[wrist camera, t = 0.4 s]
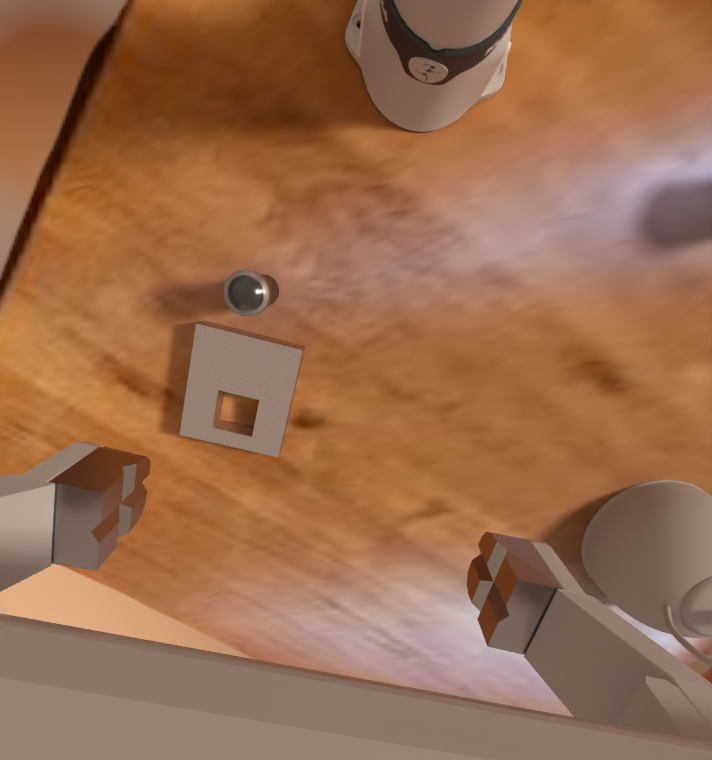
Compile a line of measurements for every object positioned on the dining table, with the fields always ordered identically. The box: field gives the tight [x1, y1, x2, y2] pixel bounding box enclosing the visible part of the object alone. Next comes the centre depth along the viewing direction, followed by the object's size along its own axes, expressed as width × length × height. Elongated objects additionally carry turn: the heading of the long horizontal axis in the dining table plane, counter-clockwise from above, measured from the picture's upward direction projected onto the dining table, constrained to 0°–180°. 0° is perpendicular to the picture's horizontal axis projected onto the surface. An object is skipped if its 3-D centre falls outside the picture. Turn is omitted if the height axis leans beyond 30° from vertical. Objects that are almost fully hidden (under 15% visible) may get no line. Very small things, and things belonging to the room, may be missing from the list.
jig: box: [180, 321, 305, 457], centre depth 53 cm, size 16×14×3 cm
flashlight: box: [223, 270, 279, 316], centre depth 46 cm, size 5×5×9 cm
